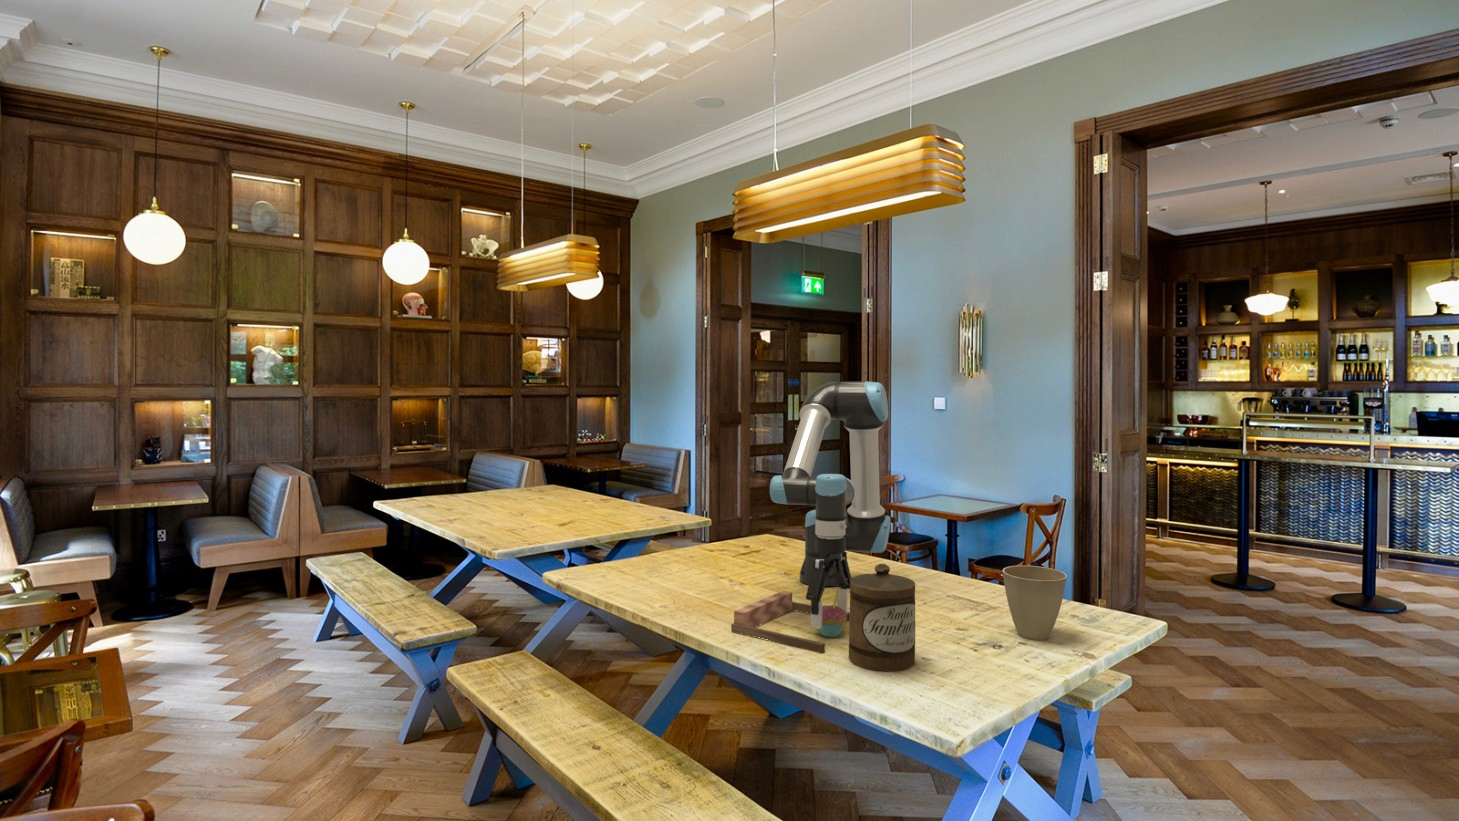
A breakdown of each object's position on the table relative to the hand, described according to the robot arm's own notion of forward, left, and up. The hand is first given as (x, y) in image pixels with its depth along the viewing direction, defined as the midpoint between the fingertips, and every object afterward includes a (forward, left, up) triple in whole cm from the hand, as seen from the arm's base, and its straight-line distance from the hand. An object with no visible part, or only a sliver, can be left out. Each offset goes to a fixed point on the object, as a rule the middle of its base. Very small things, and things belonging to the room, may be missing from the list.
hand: (829, 620), depth 189 cm
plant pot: (-29, +42, -4) cm, 51 cm away
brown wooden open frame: (0, -8, -4) cm, 9 cm away
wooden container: (+9, +18, -4) cm, 20 cm away
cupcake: (0, 0, -4) cm, 4 cm away
